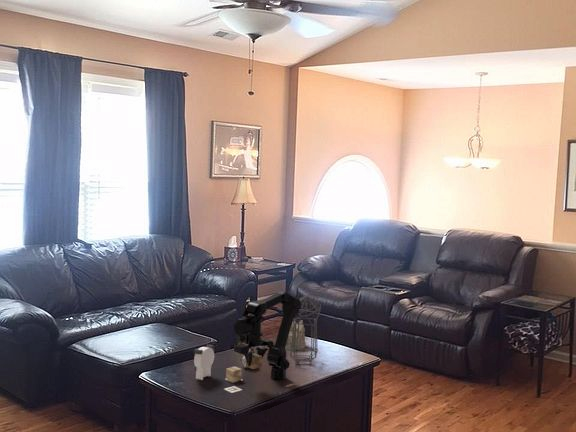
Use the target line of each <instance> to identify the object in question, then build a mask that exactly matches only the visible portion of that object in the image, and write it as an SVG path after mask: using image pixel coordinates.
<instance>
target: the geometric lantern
mask: <svg viewBox="0 0 576 432" xmlns="http://www.w3.org/2000/svg"><path fill="white" fill-rule="evenodd" d="M298 299H299V300H300V303H301V307H300V310H299V312H298V314H297V315H299V316H297V315H296V316H295V318H293V321H292V323H294V326H295V330H294V326H293V335H294V339H295V341H294V339H293V335H292V343H291V350H290V355H289V356H290V358H292V359H293V360H294V365H299V366H300V365H303V366H304V365H305V366H310V365H312V362H313V360H315V359H317V355H318V322H317V321H318V320H319V319H318V318H319V316H320V314H321V309H322V303H320V302H319V301H316V300H315V299H314V298H311V297H310V296H308V295H303V296H301V297H300V298H298ZM308 302H309V303H308ZM308 305H309V308H308ZM312 306H313V307H312ZM313 309H315V310H313ZM303 313H305V315H302V314H303ZM307 313H308V314H307ZM316 313H317V315H316V317H315V315H314V314H316ZM309 316H313V317H314V318H313V323H312V322H311V320H312V318H311V317H310V318H309ZM302 319H303V320H308V322H309V323H310V324H309V323H303V324H301V325H305V326H311V328H310V329H311V332H310V334H311V335H310V336H311V337H310V338H311V341H310V343H311V346H310V347H311V349H307V348H306V349H305V348H302V349H297V344H298V333H299V322H301V320H302ZM294 321H295V322H294ZM297 323H298V332H297V343H296V349H295V342H296V324H297ZM292 344H293V348H294V349H293V348H292ZM298 351H309V352H310V355H308V357H307V355H302V354H301V355H300V354H298ZM313 352H314V353H313ZM292 354H293V355H292ZM313 356H314V357H313ZM303 361H305V362H309V363H299V362H303Z"/></svg>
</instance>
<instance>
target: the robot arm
mask: <svg viewBox="0 0 576 432" xmlns="http://www.w3.org/2000/svg"><path fill="white" fill-rule="evenodd" d="M301 303H302V302H300V300H299V298H296V297H295V296H292V295H291V294H289V293H288V292H287V291H281V290H280V291H277V292H276V293H274V294H272V295H270V296H268V297H265V298H263V299H261V300H254V301H250V302H248V303H247V305H246V307H245V309H244V311H243V313H242V315H241V318H238V319H237V320H236V322H235V323H234V325H233V331H234V333H235V334H236V342H237V343H239V344H235V346H234V347H233V351H234V352H235V353H238V354H240V355H243V356H245V358H246V361H247V364H248V366H250V365H251V360H252V354H253V351H252V350H251V349H253V348H254V349H256V354H258V355H260V356H262V359H264V356H265V354H266V356H267V357H266V360H267V362H268V366H270V367H271V370H270V380H272V381H282V380H284V379H285V380H288V379H289V378H287V376H286V375H287V372H286V371H287V369H289V367H290V362H289V360H288V359H287V349H285V346H286V342H287V339H288V335H289V332H290V328H291V326H292V323H293V318H294V317H295V318H296V315H299V314H298V313H300V311H299V310H301V306H302V304H301ZM279 304H281V306H282V307H281V310H282V318H281V322H280V325H279V329H278V332H277V336H276V339H275V342H274V341H273V340H271V339H269V338H262V337H263V336H264V333H263V332H262V321H264V320H265V319H266V318H265V317H264V315H265V314H266V313H267V310H269V309H271V308H273V307H274V306H276V305H279ZM295 318H294V319H295ZM261 338H262V339H261ZM243 343H244V344H243ZM266 347H267V348H266ZM268 348H269V349H268ZM254 349H253V350H254ZM251 351H252V352H251Z"/></svg>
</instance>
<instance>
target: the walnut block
mask: <svg viewBox="0 0 576 432" xmlns="http://www.w3.org/2000/svg"><path fill="white" fill-rule="evenodd" d="M262 365H263V358H262V356H260V355H258V354H257V353H256V352H255V353H254V354H252V360H251V365H250V366H248V364H247V361H246V367H249V368H248V369H252V370H254V369H255V370H256V369H259V368H262Z"/></svg>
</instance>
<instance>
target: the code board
mask: <svg viewBox="0 0 576 432" xmlns="http://www.w3.org/2000/svg"><path fill="white" fill-rule="evenodd" d="M225 380H226V381H228V382H231V383H236V382H239V381H243V379H242V378H241V380H238V381H235V382H232V381H229V380H227V379H226V378H225ZM224 390H225V391H227V392H228V393H232V394H233V393H237V392H240V391H243V389H241V388H240V387H238V386H236V385H233V386H230V387H226V388H224Z"/></svg>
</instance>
